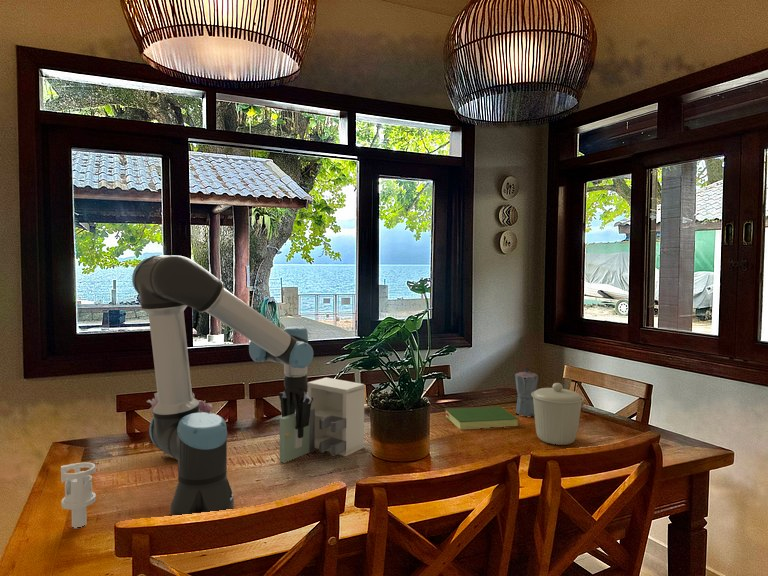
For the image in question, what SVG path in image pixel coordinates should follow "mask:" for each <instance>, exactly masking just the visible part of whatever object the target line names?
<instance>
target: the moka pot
mask: <svg viewBox="0 0 768 576" xmlns="http://www.w3.org/2000/svg"><path fill="white" fill-rule="evenodd" d="M514 378H515V379H514V380H515V387H516V388H515V389H516V392H517V400H516V407H515V413H517V414H519V415H523V416H534V403H533V397H532V395H531V393H532V392H534V391H536V390H537V387H538V381H539V375H538V374H537V373H536V372H530V369H529V368H528V367H527V368H524V371H521V372H520V371H519V372H517V373H514ZM534 417H535V416H534Z"/></svg>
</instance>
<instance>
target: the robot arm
mask: <svg viewBox="0 0 768 576" xmlns="http://www.w3.org/2000/svg"><path fill="white" fill-rule="evenodd" d="M131 277H132V278H131V281H132V286H133V288H134V290H135V291H136V293H137V295H139V298H140V306H141V307H140V308H141V310H143V312H145V313H146V314H147V316H148V321H149V322H148V323H149V330H150V339H151V346H152V355H153V365H154V374H155V375H154V376H155V382H156V383H155V384H156V393H157V394H158V404H157V405H156V406H155V407H154V408H153V413H152V414H153V418H152V419H151V421H150V424H149V432H148V433H149V436H150V440H151V442H152V443H153V444H154V446H155V447H156V448H157V449H159V451H161V452H163V453H164V452H165V453H167V454H166V455H168V454H169V455H170V456H172V457H173V458H172V457H171V458H172V459H174V460H177V463H178V464H177V470H178V471H177V477H178V478H177V480H178V482H177V485H176V488H175V492H174V494H173V498H172V501H171V504H170V515H182V514H192V513H201V512H210V511H219V510H226V509H232V510H233V509H234V506H235V505H234V504H235V502H234V501H235V500H234V499H235V498H234V493H233V490H232V488H231V485H230V482H229V480H228V476H227V473H228V470H227V464H228V463H227V462H228V461H227V460H228V459H227V458H228V457H227V456H228V448H227V447H228V442H227V441H228V430H227V423H226V420H225V419H224V418H223V416H220V415H218V414H216V413H214V412H213V413H212V412H211V413H210V414H208V413H203V412H201V413H200V408H199V401H198V399H197V398H195V397H194V398H193V397H192V393H193V391H192V383H191V382H192V381H191V371H190V369H191V368H190V361H189V352H188V343H187V342H188V339H187V332H186V323H185V312H184V311H185V310H186V308H187V307H189V308H191V309H193V310H195V311H196V312H198V313H207V314H208V315H210V316H212V317H213V318H214V319H216V320H217V321H219V322H221V323H222V324H223V325H225V326H227V327H228V328H229V329H232V330H233V331H234V332H236V333H238V334H239V335H241V337H244V338H245V339H247V340H248V341H250V342H249V345H248V353H249V356H250V359H252V361H253V362H256V363H258V362H259V363H260V362H261V363H264V362H273V363H275V364H281V365H283V374H284V376H283V386H284V388H285V389H284V391H283V392H279V393H278V398H279V400H280V409H281V410H280V411H281V418H282V417H285V416H288V415H291V414H294V413H295V409H296V424H297V427H295V448H296V449H297V448H299V447H301V446H302V437H303V432H304V427H306V426H308V425H309V418H310V410H311V403H312V401H313V397H309V396H308V395H307V383H308V375H307V374H308V366H309V365H311V362H312V361H313V358H314V350H313V347H312V346H311V344H309V337H308V335H309V334H308V333H309V332H308V329H307V328H306V327H304V326H297V325H295V326H294V325H293V326H287V327H285V328H284V329H282V328H281V327H280V326H278V325H277V324H275V323H274V322H272V321H271V320H270V319H268V318H267V317H266V316H264V315H263V314H261V313H260V312H259V311H257V310H256V309H254V308H253V307H252V306H250V305H248V304H247V303H246V302H244V301H243V300H242V299H240V298H239V297H238V296H236V295H235V294H233V293H232V292H230V291H229V290H228V289H226V288H225V287H224V282H223V281H222V280H221V279H220V278H218V277H216V276H215V275H214V274H212V273H211V272H210V271H208V270H207V269H206V268H204V267H203V266H202V265H200V264H199V263H198V262H195V261H194V260H192V259H191V258H189V257H186V256H182V255H165V254H163V255H162V254H161V255H160V254H157V255H151V256H148V257H146V258H144V259H143V260H141V261H140V262H138V263H137V265H136V266H135V268H134V269H133V273H132V276H131ZM169 455H168V456H169ZM170 456H169V457H170ZM233 505H234V506H233Z"/></svg>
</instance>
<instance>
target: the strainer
mask: <svg viewBox="0 0 768 576" xmlns="http://www.w3.org/2000/svg"><path fill="white" fill-rule="evenodd" d="M83 468H87V470H82V471H81V469H83ZM88 468H89V469H88ZM70 470H74V472H71V473H70V472H69V471H70ZM95 472H96V464H95V463H94V462H87V461H86V462H78V463H70V464H64V465H61V466H60V482H61V483H64V497H62V499H61V501H60V502H61V508H62V509H64V510H71V528H72V527H74V528H73V529H78V528H77V527H81V528H83V527H82V526H84V525H85V526H87V521H88V520H87V507H88V506H91V505H92V504H94V503H95V502H96V501H97V493H95V492H93V476H92V474H94V473H95ZM85 526H84V527H85Z"/></svg>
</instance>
